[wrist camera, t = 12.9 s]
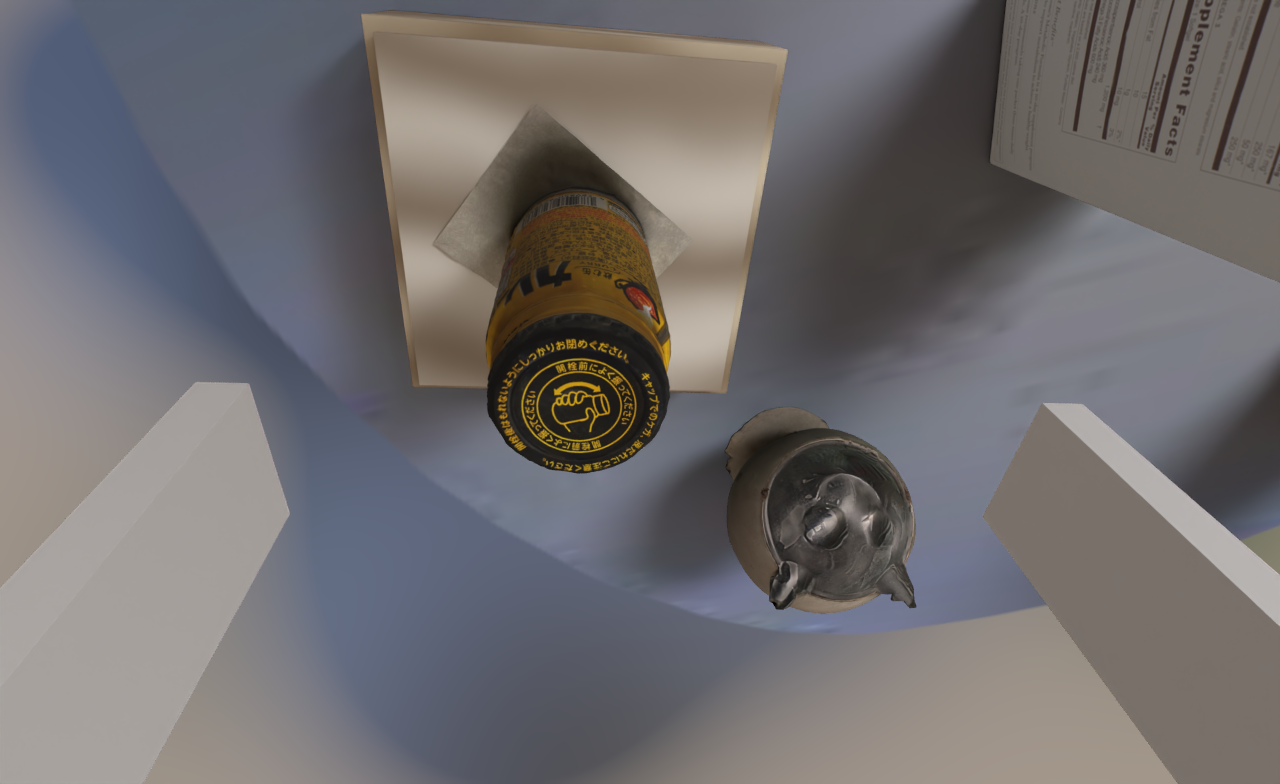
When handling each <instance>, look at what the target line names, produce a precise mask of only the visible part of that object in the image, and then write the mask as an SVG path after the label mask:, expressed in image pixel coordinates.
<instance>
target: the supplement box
mask: <svg viewBox="0 0 1280 784" xmlns="http://www.w3.org/2000/svg"><path fill="white" fill-rule="evenodd" d="M990 163H991V164H992V165H995V166H997V167H1000V168H1002V169H1005V170H1007V171H1009V172H1012V173H1014V174H1017V175H1019V176H1022V177H1024V178H1027V179H1029V180H1031V181H1034V182H1036V183H1039V184H1041V185H1044V186H1046V187H1049V188H1051V189H1054V190H1056V191H1058V192H1061V193H1063V194H1066V195H1068V196H1071V197H1073V198H1076V199H1078V200H1080V201H1083V202H1085V203H1088V204H1090V205H1093V206H1095V207H1097V208H1100V209H1102V210H1105V211H1107V212H1110V213H1112V214H1115V215H1117V216H1120V217H1122V218H1125V219H1127V220H1129V221H1132V222H1134V223H1137V224H1139V225H1141V226H1144V227H1146V228H1149V229H1151V230H1154V231H1156V232H1158V233H1161V234H1163V235H1166V236H1168V237H1171V238H1173V239H1175V240H1178V241H1180V242H1183V243H1185V244H1187V245H1190V246H1192V247H1195V248H1197V249H1200V250H1202V251H1205V252H1207V253H1210V254H1212V255H1215V256H1217V257H1219V258H1222V259H1224V260H1227V261H1229V262H1231V263H1234V264H1236V265H1239V266H1241V267H1243V268H1246V269H1248V270H1251V271H1253V272H1255V273H1258V274H1260V275H1263V276H1265V277H1267V278H1270V279H1272V280H1275V281H1277V282H1279V283H1280V0H1007V1H1006V10H1005V20H1004V30H1003V40H1002V50H1001V60H1000V69H999V79H998V89H997V99H996V108H995V118H994V128H993V138H992V147H991V155H990Z"/></svg>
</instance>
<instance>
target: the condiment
mask: <svg viewBox="0 0 1280 784" xmlns="http://www.w3.org/2000/svg"><path fill="white" fill-rule="evenodd" d="M692 241H693V239H691V238H690V237H689V236H688V235H687V234H686V233H685V232H683V231H682V230H681V229H680V228H679V227H678V226H677V225H676V224H674V223H673V222H672V221H671V220H670V219H669V218H668V217H667V216H665V215H664V214H663V213H662V212H661V211H660V210H659V209H657V208H656V207H655V206H654V205H653V204H652V203H651V202H650V201H648V200H647V199H646V198H645V197H644V196H643V195H642V194H641V193H639V192H638V191H637V190H635V189H634V188H633V187H632V186H631V185H630V184H629V183H628V182H627V181H625V180H624V179H623V178H622V177H621V176H620V175H619V174H617V173H616V172H615V171H614V170H612V169H611V168H610V167H609V166H608V165H606V164H605V163H604V162H603V161H602V160H601V159H600V158H599V157H598V156H596V155H595V154H594V153H593V152H592V151H591V150H590V149H589V148H587V147H586V146H585V145H584V144H583V143H582V142H581V141H579V140H578V139H577V138H576V137H575V136H574V135H572V134H571V133H570V132H569V131H568V130H567V129H565V128H564V127H563V126H562V125H560V124H559V123H558V122H557V121H556V120H555V119H554V118H553V117H551V116H550V115H549V114H548V113H547V112H546V111H545V110H543V109H542V108H541V107H540V106H539V105H538V104H537V103H536V104H535V105H534V107H533V108H532V110H531V111H530V112H529V114H528V115H527V116H526V118H525V119H524V121H523V122H522V123H521V124H520V126H519V127H518V129H517V130H516V131H515V133H514V134H513V135H512V137H511V138H510V139H509V141H508V142H507V144H506V145H505V146H504V148H503V149H502V151H501V152H500V153H499V154H498V156H497V157H496V159H495V160H494V161H493V163H492V164H491V166H490V167H489V168H488V170H487V171H486V172H485V174H484V175H483V176H482V178H481V179H480V181H479V182H478V183H477V185H476V186H475V188H473V190H472V191H471V193H470V194H469V196H468V197H467V198H466V200H465V201H464V203H463V204H462V205H461V207H460V208H459V209H458V211H457V212H456V214H455V215H454V216H453V218H452V219H451V220H450V222H449V223H448V225H447V226H446V227H445V229H444V230H443V231H442V233H441V234H440V236H439V237H438V238H437V240H436V241H435V242H434V244H435V245H437V246H438V247H439V248H441V249H442V250H444V251H445V252H446V253H448V254H449V255H450V256H452V257H453V258H455V259H456V260H458V261H459V262H461V263H462V264H464V265H465V266H467V267H468V268H469V269H470V270H471V271H473V272H474V273H476V274H477V275H479V276H481V277H482V278H484V279H485V280H487V281H488V282H489V283H490V284H492V285H493V286H494V287H496V288H498V290H497V293H496V297H495V301H494V306H493V309H492V312H491V317H490V320H489V325H488V329H487V334H486V359H487V364H488V367H489V370H490V372H489V375H488V379H487V380H488V384H487V387H488V389H487V398H488V403H487V408H488V414H489V417H490V418H491V419H492V421H493V423H494V424H495V426H496V428H497V429H498V431H499V433H500V434H501V435H502V437H503V438H504V440H505V442H506V444H507V445H508V446H509V447H511V448H512V449H513V450H515V451H516V452H517V453H519V454H520V455H522V456H523V457H525V458H526V459H528V460H529V461H532V462H534V463H536V464H538V465H540V466H543V467H545V468H547V469H550V470H560V471H568V472H573V473H590V472H595V471H600V470H604V469H607V468H610V467H613V466H616V465H618V464H621V463H623V462H625V461H627V460H628V459H630V458H631V457H633V456H634V455H635V454H636V453H637V452H638V451H639V450H641V449H642V448H643V447H645V446H646V445H647V444H648V443H649V442H651V441H652V439H653V438H654V437H655V435H656V434H657V432H658V431H659V429H660V426H661V423H662V421H663V420H664V418H665V415H666V412H667V405H668V401H669V398H670V394H669V390H670V385H669V379H668V376H667V371H668V366H669V361H670V357H671V340H670V333H669V328H668V323H667V320H666V316H665V313H664V309H663V303H662V300H661V296H660V292H659V287H658V284H657V280H656V279H657V278H658V277H659V275H660V274H662V273H663V272H664V271H665V270H666V269H667V267H668V266H670V265H671V264H672V262H673V261H674V260H675V259H676V258H677V257H678V256H679V255H680V254H681V253H682V252H683V251H684V250H685V248H686V247H687V246H688V245H689V244H690V243H691V242H692Z"/></svg>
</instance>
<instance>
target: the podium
mask: <svg viewBox="0 0 1280 784" xmlns="http://www.w3.org/2000/svg"><path fill="white" fill-rule="evenodd" d="M361 17H362V24H363V31H364V38H365V46H366V53H367V60H368V67H369V74H370V82H371V89H372V96H373V103H374V110H375V118H376V125H377V132H378V139H379V146H380V154H381V161H382V168H383V175H384V182H385V190H386V197H387V204H388V211H389V218H390V226H391V233H392V240H393V247H394V254H395V262H396V269H397V276H398V283H399V291H400V298H401V305H402V312H403V319H404V327H405V334H406V341H407V348H408V355H409V363H410V370H411V377H412V384H413V387H438V388H487V389H488V387H487V384H488V380H487V379H488V375H489V372H490V370H489V367H488V364H487V359H486V334H487V329H488V325H489V320H490V317H491V312H492V309H493V306H494V301H495V297H496V293H497V290H498V288H496V287H494V286H493V285H492V284H490V283H489V282H488V281H487V280H485V279H484V278H482V277H481V276H479V275H477V274H476V273H474V272H473V271H471V270H470V269H469V268H468V267H467V266H465V265H464V264H462V263H461V262H459V261H458V260H456V259H455V258H453V257H452V256H450V255H449V254H448V253H446V252H445V251H444V250H442V249H441V248H439V247H438V246H437V245H435V244H434V242H435V241H436V240H437V238H438V237H439V236H440V234H441V233H442V231H443V230H444V229H445V227H446V226H447V225H448V223H449V222H450V220H451V219H452V218H453V216H454V215H455V214H456V212H457V211H458V209H459V208H460V207H461V205H462V204H463V203H464V201H465V200H466V198H467V197H468V196H469V194H470V193H471V191H472V190H473V188H475V186H476V185H477V183H478V182H479V181H480V179H481V178H482V176H483V175H484V174H485V172H486V171H487V170H488V168H489V167H490V166H491V164H492V163H493V161H494V160H495V159H496V157H497V156H498V154H499V153H500V152H501V151H502V149H503V148H504V146H505V145H506V144H507V142H508V141H509V139H510V138H511V137H512V135H513V134H514V133H515V131H516V130H517V129H518V127H519V126H520V124H521V123H522V122H523V121H524V119H525V118H526V116H527V115H528V114H529V112H530V111H531V110H532V108H533V107H534V105H535V104H536V103H537V104H538V105H539V106H540V107H541V108H542V109H543V110H545V111H546V112H547V113H548V114H549V115H550V116H551V117H553V118H554V119H555V120H556V121H557V122H558V123H559V124H560V125H562V126H563V127H564V128H565V129H567V130H568V131H569V132H570V133H571V134H572V135H574V136H575V137H576V138H577V139H578V140H579V141H581V142H582V143H583V144H584V145H585V146H586V147H587V148H589V149H590V150H591V151H592V152H593V153H594V154H595V155H596V156H598V157H599V158H600V159H601V160H602V161H603V162H604V163H605V164H606V165H608V166H609V167H610V168H611V169H612V170H614V171H615V172H616V173H617V174H619V175H620V176H621V177H622V178H623V179H624V180H625V181H627V182H628V183H629V184H630V185H631V186H632V187H633V188H634V189H635V190H637V191H638V192H639V193H641V194H642V195H643V196H644V197H645V198H646V199H647V200H648V201H650V202H651V203H652V204H653V205H654V206H655V207H656V208H657V209H659V210H660V211H661V212H662V213H663V214H664V215H665V216H667V217H668V218H669V219H670V220H671V221H672V222H673V223H674V224H676V225H677V226H678V227H679V228H680V229H681V230H682V231H683V232H685V233H686V234H687V235H688V236H689V237H690V238H691V239H693V241H692V242H691V243H690V244H689V245H688V246H687V247H686V248H685V250H684V251H683V252H682V253H681V254H680V255H679V256H678V257H677V258H676V259H675V260H674V261H673V262H672V264H671V265H670V266H668V267H667V269H666V270H665V271H664V272H663V273H662V274H660V275H659V277H658V278H657V279H656V280H657V284H658V287H659V292H660V296H661V300H662V303H663V309H664V313H665V316H666V320H667V323H668V328H669V333H670V340H671V357H670V361H669V366H668V371H667V376H668V379H669V385H670V390H669V392H685V393H726V392H727V386H728V381H729V375H730V370H731V364H732V359H733V353H734V348H735V342H736V337H737V331H738V325H739V320H740V314H741V309H742V303H743V298H744V292H745V287H746V281H747V275H748V270H749V264H750V259H751V253H752V248H753V242H754V237H755V231H756V226H757V220H758V214H759V209H760V203H761V198H762V192H763V187H764V181H765V176H766V170H767V165H768V159H769V153H770V148H771V142H772V137H773V131H774V126H775V120H776V115H777V109H778V104H779V98H780V92H781V87H782V81H783V76H784V70H785V65H786V59H787V54H788V50H787V49H784V48H780V47H777V46H774V45H770V44H767V43H764V42H760V41H748V40H736V39H725V38H713V37H701V36H689V35H678V34H666V33H654V32H642V31H630V30H619V29H607V28H595V27H583V26H572V25H560V24H548V23H536V22H525V21H513V20H501V19H489V18H478V17H466V16H454V15H442V14H430V13H419V12H407V11H395V10H389V11H381V12H373V13H366V14H361Z"/></svg>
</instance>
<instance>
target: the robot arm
mask: <svg viewBox="0 0 1280 784" xmlns="http://www.w3.org/2000/svg"><path fill="white" fill-rule="evenodd" d="M289 515H290V512H289V509H288V506H287V502H286V499H285V496H284V493H283V490H282V487H281V483H280V480H279V477H278V474H277V471H276V468H275V464H274V461H273V458H272V455H271V452H270V449H269V446H268V442H267V439H266V436H265V433H264V430H263V426H262V424H261V420H260V417H259V414H258V410H257V407H256V404H255V401H254V398H253V395H252V391H251V389H250V385H249V383H214V382H211V383H210V382H195V383H194V384H193V385H192V386H191V388H189V389H188V391H187V392H186V393H185V394H184V395H183V396H182V397H181V398H180V399H179V400H178V401H177V402H176V403H175V404H174V405H173V407H171V409H170V410H169V411H168V412H167V413H166V414H165V415H164V416H163V417H162V418H161V419H160V420H159V421H158V422H157V423H156V424H155V425H154V426H153V427H152V428H151V430H150V431H149V432H148V433H147V434H146V435H145V436H144V437H143V438H142V439H141V440H140V441H139V442H138V443H137V444H136V445H135V447H133V449H132V450H131V451H130V452H129V453H128V454H127V455H126V456H125V457H124V458H123V459H122V460H121V461H120V462H119V463H118V464H117V465H116V466H115V468H114V469H113V470H112V471H111V472H110V473H109V474H108V475H107V476H106V477H105V478H104V479H103V480H102V481H101V482H100V483H99V484H98V486H96V488H95V489H94V490H93V491H92V492H91V493H90V494H89V495H88V496H87V497H86V498H85V499H84V500H83V501H82V502H81V503H80V505H78V506H77V508H76V509H75V510H74V511H73V512H72V513H71V514H70V515H69V516H68V517H67V518H66V519H65V520H64V521H63V522H62V523H61V525H60V526H59V527H58V528H57V529H56V530H55V531H54V532H53V533H52V534H51V535H50V536H49V537H48V538H47V539H46V540H45V541H44V542H43V544H41V545H40V547H39V548H38V549H37V550H36V551H35V552H34V553H33V554H32V555H31V556H30V557H29V558H28V559H27V560H26V561H25V562H24V563H23V565H21V567H20V568H19V569H18V570H17V571H16V572H15V573H14V574H13V575H12V576H11V577H10V578H9V579H8V580H7V581H6V582H5V583H4V584H3V586H2V587H1V588H0V784H143V783H144V781H145V779H146V778H147V776H148V774H149V772H150V770H151V768H152V767H153V765H154V763H155V761H156V759H157V757H158V756H159V754H160V752H161V750H162V748H163V746H164V744H165V743H166V741H167V739H168V737H169V735H170V733H171V731H172V730H173V728H174V726H175V724H176V722H177V721H178V719H179V717H180V715H181V713H182V711H183V709H184V708H185V706H186V704H187V702H188V700H189V699H190V697H191V695H192V693H193V691H194V689H195V687H196V686H197V684H198V682H199V680H200V678H201V676H202V675H203V673H204V671H205V669H206V667H207V665H208V664H209V662H210V660H211V658H212V656H213V654H214V652H215V651H216V649H217V647H218V645H219V643H220V642H221V640H222V638H223V636H224V634H225V632H226V630H227V628H228V626H229V625H230V623H231V621H232V619H233V618H234V616H235V614H236V612H237V610H238V608H239V607H240V605H241V603H242V601H243V599H244V597H245V595H246V594H247V592H248V590H249V588H250V586H251V584H252V583H253V581H254V579H255V577H256V575H257V573H258V572H259V570H260V568H261V566H262V564H263V562H264V561H265V559H266V557H267V555H268V553H269V551H270V550H271V547H272V546H273V544H274V542H275V540H276V539H277V537H278V535H279V533H280V531H281V529H282V527H283V526H284V523H285V522H286V520H287V518H288V516H289ZM983 518H984V519H985V521H986V522H987V523H988V525H989V526H990V527H991V529H992V530H993V532H994V533H995V534H996V536H997V537H998V538H999V540H1000V541H1001V542H1002V544H1003V545H1004V547H1005V548H1006V549H1007V551H1008V552H1009V553H1010V555H1011V556H1012V558H1013V559H1014V560H1015V562H1016V563H1017V564H1018V566H1019V567H1020V568H1021V570H1022V571H1023V573H1024V574H1025V575H1026V577H1027V578H1028V579H1029V581H1030V582H1031V584H1032V585H1033V586H1034V588H1035V589H1036V590H1037V592H1038V593H1039V594H1040V596H1041V597H1042V599H1043V600H1044V601H1045V603H1046V604H1047V605H1048V607H1049V608H1050V610H1051V611H1052V612H1053V614H1054V615H1055V616H1056V618H1057V619H1058V620H1059V622H1060V623H1061V625H1062V626H1063V627H1064V629H1065V630H1066V631H1067V633H1068V634H1069V635H1070V637H1071V638H1072V640H1073V641H1074V642H1075V644H1076V645H1077V646H1078V648H1079V649H1080V650H1081V652H1082V653H1083V654H1084V656H1085V657H1086V659H1087V660H1088V661H1089V663H1090V664H1091V666H1092V667H1093V668H1094V669H1095V671H1096V672H1097V674H1098V675H1099V676H1100V678H1101V679H1102V681H1103V682H1104V683H1105V685H1106V686H1107V687H1108V689H1109V690H1110V692H1111V693H1112V694H1113V696H1114V697H1115V698H1116V700H1117V701H1118V703H1119V704H1120V705H1121V707H1122V708H1123V709H1124V711H1125V712H1126V713H1127V715H1128V716H1129V717H1130V719H1131V720H1132V722H1133V723H1134V724H1135V726H1136V727H1137V728H1138V730H1139V731H1140V732H1141V734H1142V735H1143V736H1144V738H1145V739H1146V741H1147V742H1148V744H1149V745H1150V746H1151V748H1152V749H1153V750H1154V752H1155V753H1156V754H1157V756H1158V757H1159V759H1160V760H1161V761H1162V763H1163V764H1164V765H1165V767H1166V768H1167V770H1168V771H1169V772H1170V773H1171V775H1172V776H1173V778H1174V779H1175V780H1176V782H1177V783H1178V784H1280V575H1279V574H1278V573H1277V572H1275V571H1274V570H1273V569H1272V568H1271V567H1270V566H1269V565H1267V564H1266V563H1265V562H1264V561H1263V560H1262V559H1260V558H1259V557H1258V556H1257V555H1256V554H1255V553H1254V552H1252V551H1251V550H1250V549H1249V548H1248V547H1247V546H1246V545H1244V544H1243V543H1242V542H1241V541H1240V540H1239V539H1238V538H1236V537H1235V536H1234V535H1233V534H1232V533H1231V532H1229V531H1228V530H1227V529H1226V528H1225V527H1224V526H1223V525H1221V524H1220V523H1219V522H1218V521H1217V520H1216V519H1214V518H1213V517H1212V516H1211V515H1210V514H1209V513H1208V512H1206V511H1205V510H1204V509H1203V508H1202V507H1201V506H1199V505H1198V504H1197V503H1196V502H1195V501H1194V500H1193V499H1191V498H1190V497H1189V496H1188V495H1187V494H1186V493H1184V492H1183V491H1182V490H1181V489H1180V488H1179V487H1178V486H1176V485H1175V484H1174V483H1173V482H1172V481H1171V480H1169V479H1168V478H1167V477H1166V476H1165V475H1164V474H1163V473H1161V472H1160V471H1159V470H1158V469H1157V468H1156V467H1154V466H1153V465H1152V464H1151V463H1150V462H1149V461H1148V460H1146V459H1145V458H1144V457H1143V456H1142V455H1141V454H1139V453H1138V452H1137V451H1136V450H1135V449H1134V448H1133V447H1131V446H1130V445H1129V444H1128V443H1127V442H1126V441H1125V440H1123V439H1122V438H1121V437H1120V436H1119V435H1118V434H1116V433H1115V432H1114V431H1113V430H1112V429H1111V428H1110V427H1108V426H1107V425H1106V424H1105V423H1104V422H1103V421H1101V420H1100V419H1099V418H1098V417H1097V416H1096V415H1095V414H1093V413H1092V412H1091V411H1090V410H1089V409H1088V408H1086V407H1085V406H1084V405H1083V404H1061V403H1042V404H1041V406H1040V408H1039V410H1038V412H1037V414H1036V416H1035V418H1034V420H1033V422H1032V423H1031V425H1030V427H1029V429H1028V431H1027V433H1026V435H1025V437H1024V439H1023V441H1022V442H1021V444H1020V446H1019V448H1018V450H1017V452H1016V454H1015V456H1014V458H1013V460H1012V462H1011V463H1010V465H1009V467H1008V469H1007V471H1006V473H1005V475H1004V477H1003V479H1002V481H1001V482H1000V484H999V486H998V488H997V490H996V492H995V494H994V496H993V498H992V500H991V501H990V503H989V505H988V507H987V509H986V511H985V513H984V515H983Z"/></svg>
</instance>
